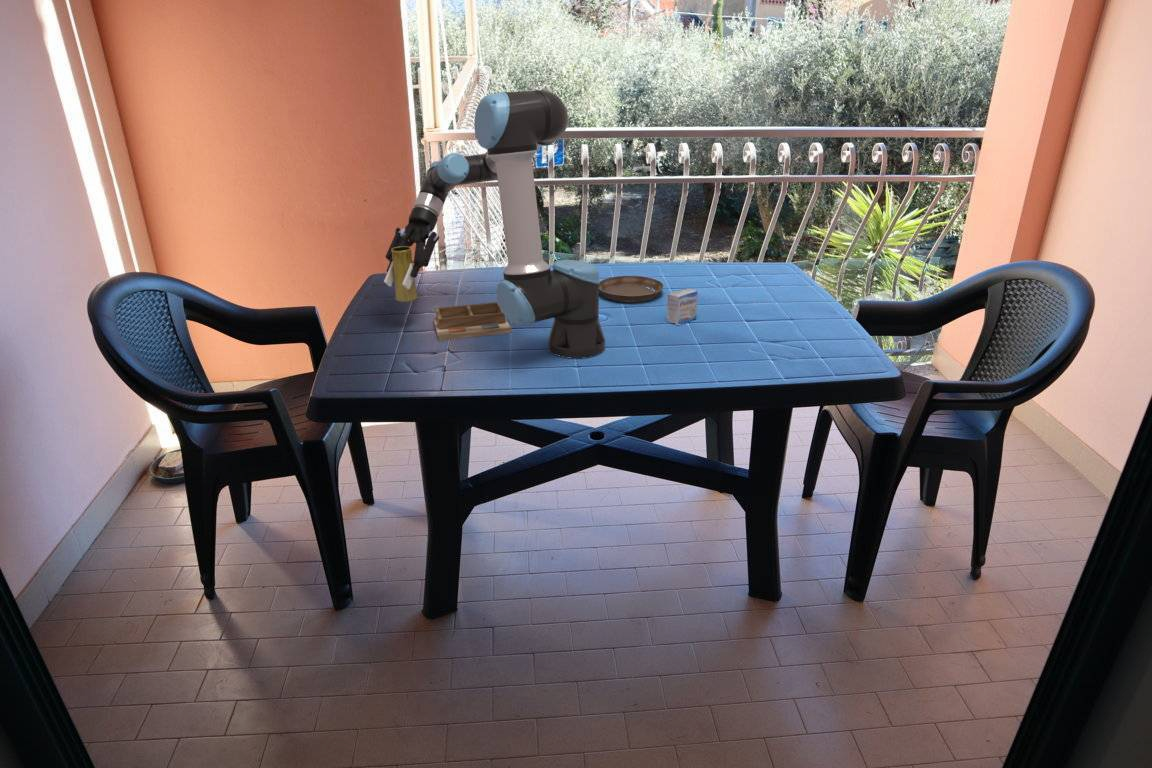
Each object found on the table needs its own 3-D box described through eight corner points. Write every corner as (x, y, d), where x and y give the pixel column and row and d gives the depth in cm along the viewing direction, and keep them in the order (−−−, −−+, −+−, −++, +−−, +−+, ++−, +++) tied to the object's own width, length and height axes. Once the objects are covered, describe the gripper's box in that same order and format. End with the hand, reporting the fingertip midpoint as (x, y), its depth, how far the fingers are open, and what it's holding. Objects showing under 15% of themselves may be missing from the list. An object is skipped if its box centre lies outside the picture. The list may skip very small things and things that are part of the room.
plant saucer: (597, 284, 257) (597, 274, 255) (661, 284, 256) (661, 274, 254) (596, 305, 238) (596, 295, 237) (665, 306, 237) (665, 295, 236)
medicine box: (677, 326, 222) (678, 297, 218) (666, 321, 225) (667, 293, 221) (696, 319, 226) (698, 291, 223) (685, 315, 229) (686, 287, 226)
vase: (419, 294, 223) (413, 245, 217) (415, 301, 217) (410, 251, 211) (397, 295, 223) (391, 245, 217) (393, 302, 217) (387, 251, 211)
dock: (511, 332, 218) (510, 317, 216) (438, 340, 214) (437, 324, 212) (502, 315, 230) (501, 301, 228) (434, 322, 226) (432, 307, 224)
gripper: (459, 223, 221) (431, 296, 215) (405, 217, 228) (376, 288, 222) (447, 208, 214) (417, 282, 208) (392, 203, 222) (362, 275, 215)
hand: (396, 285), depth 215 cm, fingers closed on vase, 5 cm apart
